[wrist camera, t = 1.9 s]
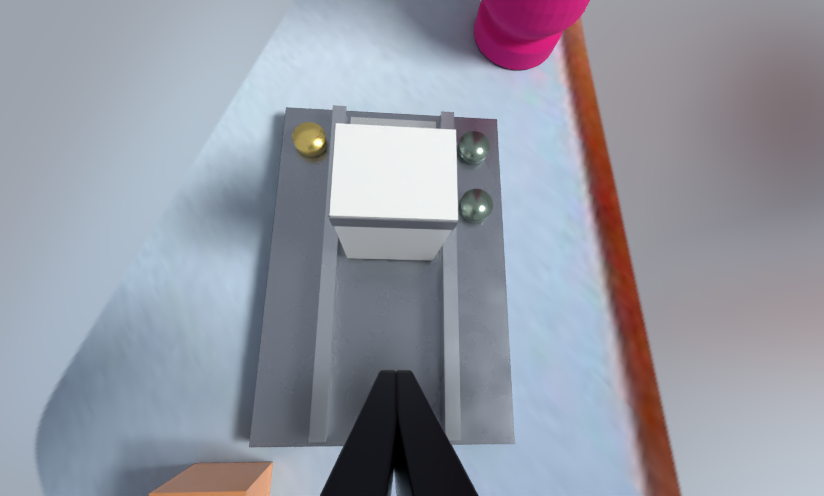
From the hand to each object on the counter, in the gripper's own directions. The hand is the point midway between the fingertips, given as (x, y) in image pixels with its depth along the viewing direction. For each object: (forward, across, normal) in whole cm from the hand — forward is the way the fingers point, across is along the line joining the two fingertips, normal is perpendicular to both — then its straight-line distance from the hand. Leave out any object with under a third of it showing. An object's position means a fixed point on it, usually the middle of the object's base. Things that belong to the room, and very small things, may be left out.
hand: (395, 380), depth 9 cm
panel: (+13, 0, +5) cm, 14 cm away
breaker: (+13, 0, +3) cm, 14 cm away
